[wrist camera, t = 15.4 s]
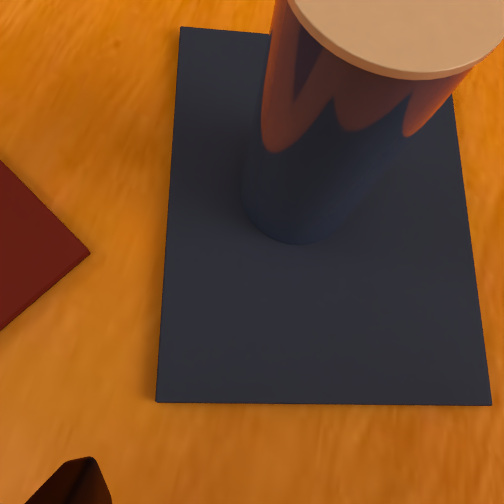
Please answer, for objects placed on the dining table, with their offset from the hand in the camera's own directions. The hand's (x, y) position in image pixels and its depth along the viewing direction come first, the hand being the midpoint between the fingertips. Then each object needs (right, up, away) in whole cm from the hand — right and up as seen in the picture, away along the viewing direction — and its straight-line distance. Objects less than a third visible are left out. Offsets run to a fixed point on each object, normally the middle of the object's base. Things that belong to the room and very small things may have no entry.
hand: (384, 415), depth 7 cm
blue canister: (0, +5, +15) cm, 16 cm away
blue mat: (+1, +5, +15) cm, 16 cm away
